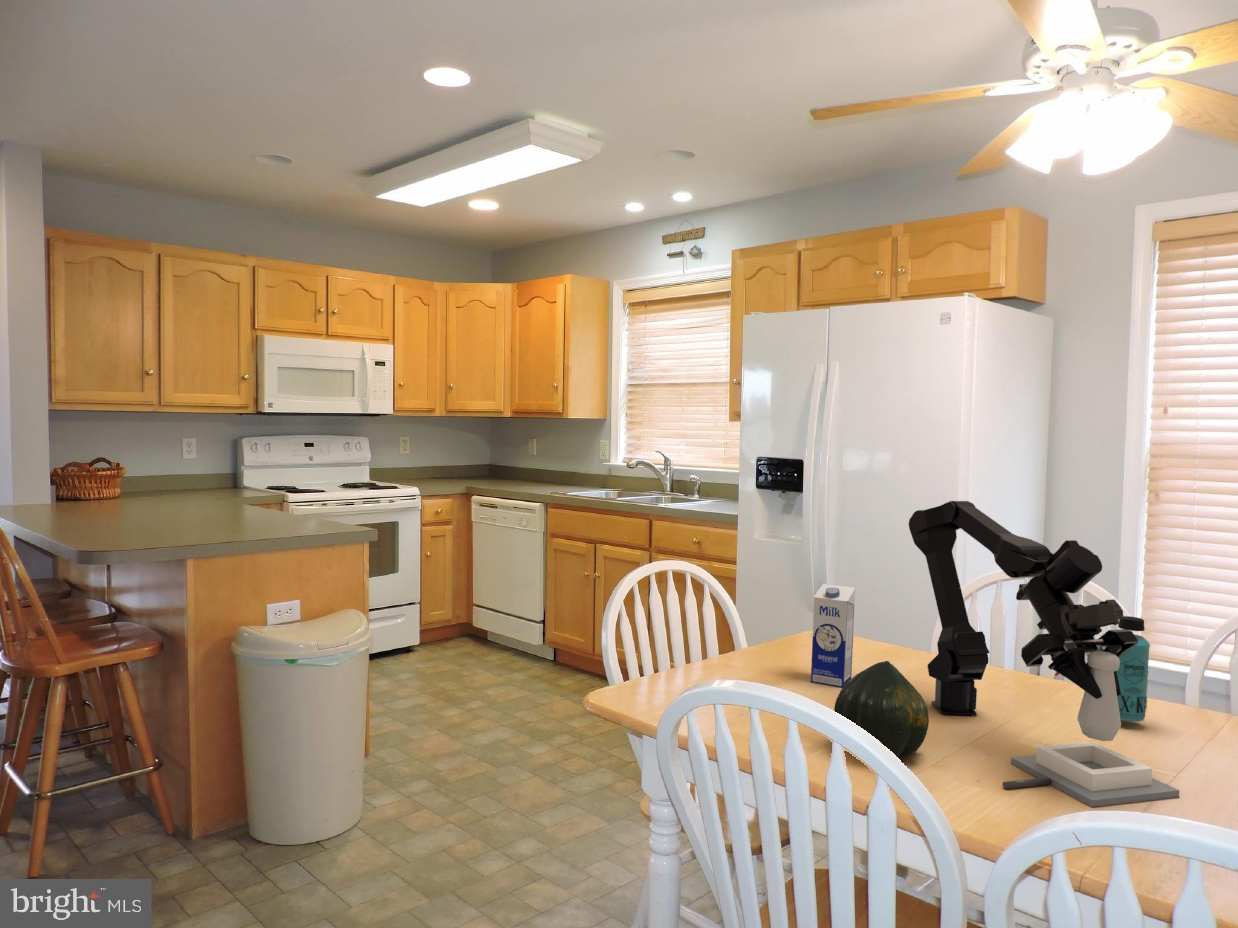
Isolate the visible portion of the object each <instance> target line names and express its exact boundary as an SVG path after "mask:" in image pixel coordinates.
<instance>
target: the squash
mask: <svg viewBox="0 0 1238 928" xmlns="http://www.w3.org/2000/svg"><path fill="white" fill-rule="evenodd" d="M834 703H835V704H834V710H833V711H835V712H837V713H839V714H841V715H842V716H844V717H846V718H847V719H849V720H851V721H852V722H854V723H856V725H858V726H860V727H861V728H863V729H864V730H866V731H867V732H868V733H870V734H871V735H872V736H874V737H875V738H876V739H878V740H879V741H880V742H881V743H882V744H883V745H884V746H886V747H887V748H888V749H890V751H892V752H893V753H894V754H895V755H896V756H898V757H902V758H903V757H909V756H912V755H913V754H915V753H916V752H917V751H918V750H920V749H919V748H920V747H921V746H922V744H923V743H924V742H925V738H926V736H927V735H928V734H927V733H928V729H929V723H930V722H929V721H930V720H929V718H930V717H929V710H928V707H927V703H926V701H925V699H924V698H923V696H922V695H921V694H920V692H919V691H918V690H917V688H915V686H913V684H912V683H911V682H910V681H909V679H907V678H906V677H905V676H904V675H903V674H902V672H900V671H899V669H898V668H897V667H896V666H894V664H892V663H890V661H888V660H885V661H881V662H877V663H875V664H873V665H871V666H869V667H867V668H866V669H863V670H861V671H860V672H859V673H856V674H855V675H854V676H853V677H851V680H849V681H848V682H847V683H846V684H845V686H844V687H843V688H841V690H840V692H839V693H838V695H837V697H836V700H835V702H834Z"/></svg>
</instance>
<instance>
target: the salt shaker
mask: <svg viewBox="0 0 1238 928" xmlns="http://www.w3.org/2000/svg"><path fill="white" fill-rule="evenodd" d="M1086 663H1088V665H1089V666H1090V667H1091V671H1090V672H1091V674H1092V675H1093V677H1094V679H1095V681H1096V683H1097V685H1098V687H1099V689H1100V691H1101V693H1102V697H1101V698H1099V699H1095V698H1094V697H1093V696H1091V695H1090V694H1089V693H1087V692H1086V691H1084V692H1083V693H1084V694H1083V696H1082V699H1081V703H1080V707H1079V710H1078V714H1077V722H1078V724H1079V727H1080V730H1081V733H1082V734H1083V735H1084V736H1086V737H1087V738H1089V739H1093V740H1095V741H1096V740H1097V741H1100V742H1110V741H1111V742H1113V740H1114V739H1115V737H1116V736H1117V734H1118V732H1119V731H1120V729H1121V726H1122V720H1120V713H1119V706H1118V699H1117V692H1116V685H1115V678H1114V671H1117V670H1118V669H1119V666H1120V660H1119V658H1118V657H1117V656H1116V655H1114V654H1112V653H1108V652H1103V651H1094V652H1091V653H1090V654H1088V658H1087V661H1086Z"/></svg>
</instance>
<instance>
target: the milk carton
mask: <svg viewBox="0 0 1238 928" xmlns="http://www.w3.org/2000/svg"><path fill="white" fill-rule="evenodd" d="M855 594H856V587H852V586H843V585H838V584H837V585H835V584H828V583H822V585H821V586H820V587H819V588H818V590H817V591H816V592H815V594H814V596H813V598H814V599H813V617H812V618H813V619H812V621H813V622H812V641H811V642H812V648H811V667H810V668H811V669H810V673H811V674H810V683H813V684H819V685H823V686H824V685H825V686H829V685H830V686H831V687H835V688H841V689H842V688H843V687H844V686H845V684H846V683H847V682H848V681H849V680H851V679H852V672H853V671H852V666H853V645H854V644H853V643H854V642H853V641H854V624H855V623H854V622H855V620H854V619H855V602H856V601H855V596H856V595H855Z"/></svg>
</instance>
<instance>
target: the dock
mask: <svg viewBox="0 0 1238 928" xmlns="http://www.w3.org/2000/svg"><path fill="white" fill-rule="evenodd" d="M1035 750H1036V751H1035V753H1036V754H1034V755H1033V754H1032V755H1023V756H1013V757H1012V756H1011V758H1010V764H1011V765H1013V766H1015V767H1016V768H1019V769H1020V770H1022V771H1024V772H1026V773H1028V774H1030V775H1031V776H1032V777H1035V778H1029V779H1020V780H1019V779H1017V780H1012V781H1011V780H1010V781H1008V780H1007V781H1003V782H1002V787H1003V789H1004V788H1005V790H1007V789H1009V790H1010V789H1017V788H1018V789H1019V788H1028V787H1038V786H1047V785H1050V786H1052V787H1054V788H1056V789H1057V790H1059V791H1061V792H1063V793H1064V794H1066V795H1069V796H1070V797H1072V798H1074V799H1075V800H1077V801H1079V802H1082V803H1083V804H1085V805H1086V806H1089V807H1090V808H1096V807H1105V806H1113V805H1120V804H1121V805H1122V804H1131V803H1139V802H1148V801H1156V800H1157V801H1158V800H1163V799H1164V800H1166V799H1173V798H1180V790H1179V789H1177V788H1175V787H1174V786H1171V785H1169V784H1167V783H1164V782H1162V781H1160V780H1158V779H1156V778H1153V768H1152V767H1151V766H1150V767H1149V766H1148V765H1145V764H1144V763H1141V762H1140V761H1137V760H1135V759H1133V758H1130V757H1127V756H1126V755H1123V754H1121V753H1119V752H1117V751H1114V750H1112V749H1109V748H1107V747H1105V746H1103V745H1101V744H1098V743H1097V742H1094V741H1087V742H1086V741H1085V742H1074V743H1073V742H1071V743H1065V744H1064V743H1063V744H1061V743H1060V744H1053V745H1052V744H1051V745H1050V744H1049V745H1041V746H1036V748H1035Z"/></svg>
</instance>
